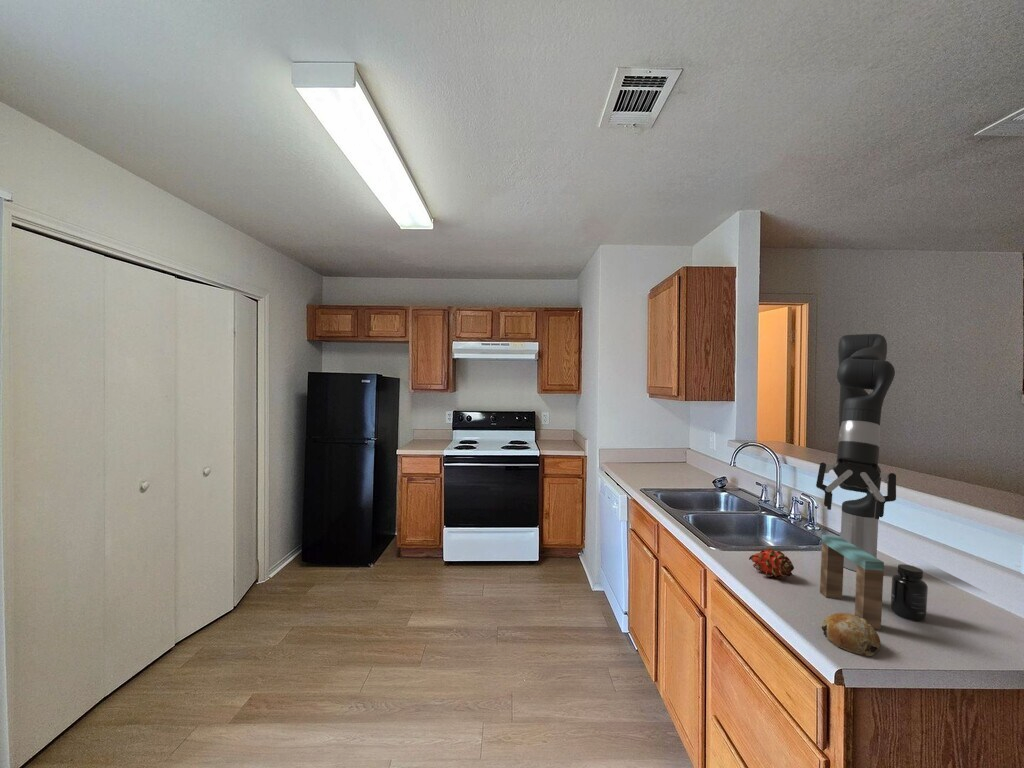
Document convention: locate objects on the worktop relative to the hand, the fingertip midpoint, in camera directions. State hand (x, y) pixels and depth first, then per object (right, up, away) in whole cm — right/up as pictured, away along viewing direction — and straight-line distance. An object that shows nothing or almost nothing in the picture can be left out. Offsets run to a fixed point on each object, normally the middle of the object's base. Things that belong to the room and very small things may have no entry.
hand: (852, 514), depth 100 cm
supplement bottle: (+24, -29, +13) cm, 40 cm away
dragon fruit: (+1, -28, +34) cm, 44 cm away
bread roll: (-1, -29, 0) cm, 29 cm away
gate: (+10, -29, +14) cm, 34 cm away
